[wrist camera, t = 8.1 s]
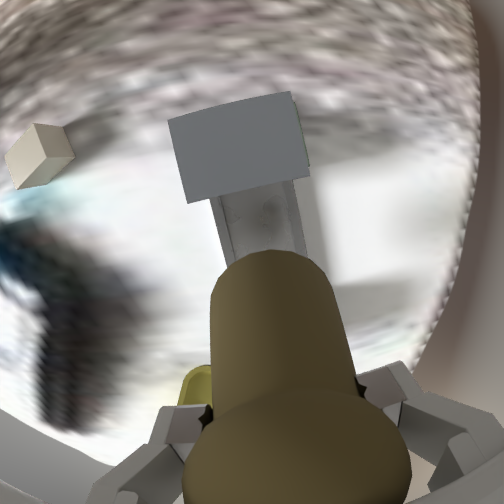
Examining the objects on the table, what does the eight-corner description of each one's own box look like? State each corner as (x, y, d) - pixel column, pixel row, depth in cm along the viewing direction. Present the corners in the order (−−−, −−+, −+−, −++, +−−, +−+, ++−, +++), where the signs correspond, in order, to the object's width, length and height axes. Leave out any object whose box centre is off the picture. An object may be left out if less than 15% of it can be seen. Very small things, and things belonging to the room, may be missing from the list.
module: (194, 135, 22) (167, 119, 15) (281, 114, 22) (295, 90, 14) (207, 192, 24) (187, 203, 16) (294, 173, 23) (315, 175, 16)
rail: (193, 121, 23) (189, 117, 22) (272, 102, 23) (273, 97, 21) (254, 356, 30) (254, 367, 28) (319, 342, 30) (322, 352, 28)
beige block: (33, 155, 24) (4, 156, 19) (62, 126, 23) (33, 123, 18) (46, 184, 25) (16, 189, 20) (76, 157, 24) (46, 157, 19)
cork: (203, 252, 13) (93, 481, 2) (336, 245, 13) (504, 429, 2) (216, 362, 15) (188, 564, 4) (329, 355, 15) (396, 544, 4)
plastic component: (180, 438, 31) (171, 420, 25) (192, 391, 37) (188, 360, 30) (327, 459, 31) (360, 445, 24) (329, 412, 36) (359, 387, 30)
